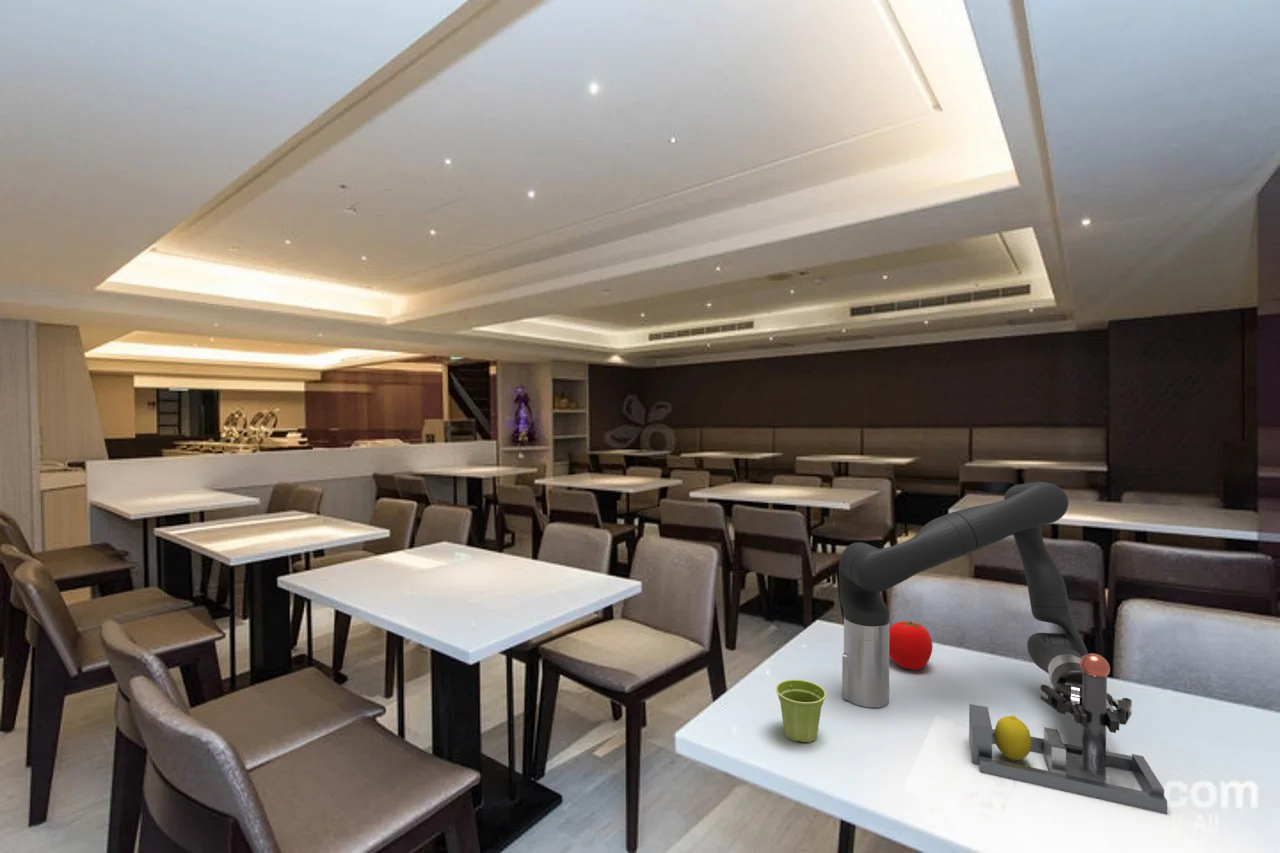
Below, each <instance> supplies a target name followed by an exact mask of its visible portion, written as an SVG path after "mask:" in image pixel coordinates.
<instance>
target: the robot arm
mask: <svg viewBox="0 0 1280 853" xmlns="http://www.w3.org/2000/svg"><path fill="white" fill-rule="evenodd" d="M1004 494H1005V495H1004V498H1003V500H999V501H996V502H992V503H987V504H981V505H976V506H972V507H971V506H970V507H967V508H962V509H959V510H955V511H952V512H949V513H946V514H945V515H941V516H939V517H936V518H934V519H932V520H931V521H929V522H927V523H926V524H924V526H922V528H920V529H919V531H918V532H917V533H916V534H915V535H913V537H911V538H909V539H907V540H906V541H903V542H901V543H898V544H894V545H891V546H887V547H883V548H878V547H875V546H873V545H870V544H869V543H865V542H852V543H850V544H849V545H848V546H846V547H845V548H844V550H843V551H842V553H841V556H840V557H839V564H838V565H839V566H838V575H839V576H838V578H839V582H838V583H839V599H840V603H841V606H842V608H843V654H842V657H841V658H842V659H841V661H842V662H841V663H842V664H841V666H842V667H841V672H842V673H841V675H842V677H841V680H842V682H841V683H842V684H841V685H842V686H841V690H842V691H841V693H842V694H841V695H842V696H841V697H842V698H841V699H842V700H844V701H845V700H846V701H848V702H850V703H852V704H854V705H856V706H860V707H865V708H872V709H873V708H875V709H876V708H883V707H886V706H887V705H889V703H890V656H889V628H890V610H889V607H888V606H887V604H886V603H885V601H884V599H883V597H882V594H881V592H884V591H887V590H889V589H891V588H893V587H895V586H898V585H899V584H901V583H902V582H904V581H906V580H909V579H910V578H912V577H914V576H916V575H918V574H920V573H921V572H924V571H927V570H930V569H933V568H935V567H937V566H941V565H942V564H945V563H947V562H950V561H953V560H957V559H959V558H961V557H964V556H966V555H969V554H970V555H971V554H972V553H975V552H977V551H979V550H981V549H983V548H986V547H988V546H990V545H993V544H996V543H997V542H999V541H1002V540H1003V539H1005V538H1008V537H1009V536H1012V535H1013V538H1014V541H1015V545H1016V547H1017V550H1018V554H1019V556H1020V559H1021V563H1022V567H1023V570H1024V575H1025V579H1026V585H1027V591H1028V596H1029V602H1030V603H1029V604H1030V608H1031V610H1030V611H1031V614H1032V616H1033V618H1034V619H1035V620H1037V621H1039V622H1044V623H1050V624H1053V625H1057V626H1058V627H1060V629H1061V630H1062V632H1035V633H1033V634H1031V635H1030V636H1029V638H1028V640H1027V642H1026V643H1027V644H1026V647H1027V652H1028V654H1029V657H1030V658H1031V660H1032V662H1033V663H1034V664H1035V665H1036V667H1038V668H1039V669H1041V670H1042V671H1043V672H1045V673H1046V674H1048V678H1049V681H1050V684H1051V685H1052V687H1050V686H1049V685H1046V684H1040V699H1041V701H1043V702H1044V703H1046V704H1047V705H1048V706H1050V708H1052V709H1053V710H1054V711H1056V712H1057V713H1058V714H1059V713H1060V714H1062V715H1066V714H1070V716H1071V717H1072V718H1073V721H1074V722H1075V723H1076V724H1079V725H1080V727H1081V728H1082V727H1086V728H1087V715H1086V713H1085V711H1084V709H1083V671H1082V669H1081V667H1080V660H1081V658H1082V657H1083V656H1084V655H1086V654H1089V652H1088V649H1087V647H1086V644H1085V642H1084V641H1083V639H1082V637H1081V635H1080V633H1079V631H1078V629H1077V627H1076V624H1075V622H1074V620H1073V617H1072V613H1071V609H1070V608H1071V607H1070V602H1069V596H1068V592H1067V591H1068V590H1067V587H1066V583H1065V580H1064V577H1063V575H1062V573H1061V571H1060V569H1059V567H1058V566H1057V564H1056V563H1055V561H1054V559H1053V558H1052V557H1051V555H1050V552H1049V551H1048V549H1047V547H1046V545H1045V542H1044V539H1043V535H1042V527H1041V526H1044V525H1049V524H1054V523H1056V522H1057V521H1059V520H1061V519H1062V518H1063V516H1064V515H1065V514H1066V513H1067V511H1068V508H1069V498H1068V495H1067V494H1066V492H1065V491H1064V490H1063V489H1062V488H1061V487H1059V485H1056V484H1053V483H1049V482H1045V481H1036V482H1028V483H1022V484H1021V483H1020V484H1016V485H1013V486H1011V487H1010V488H1008V489H1007V490H1006V492H1005V493H1004ZM1132 706H1133V704H1132V699H1130V698H1128V697H1123V698H1122V699H1120V698H1119V699H1116V698H1115V699H1114V698H1113V696H1112V695H1111V694H1109V693H1108V692H1107V706H1106V729H1108V731H1109V732H1110V733H1113V734H1114V733H1115V734H1116V733H1117V731H1120V725H1122V726H1123V725H1125V726H1126V725H1127V723H1128V721H1129V719H1130V718H1131V716H1132V711H1133V710H1132V708H1133V707H1132Z"/></svg>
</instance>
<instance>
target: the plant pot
mask: <svg viewBox="0 0 1280 853" xmlns="http://www.w3.org/2000/svg"><path fill="white" fill-rule="evenodd" d="M775 692H776V694H777V696H778V700H779V701H780V702H779V703H780V708H781V709H780V710H781V716H782V718H781V719H782V726H783V732H784V733H783V734H784V735H785V737H787V738H788V737H789V738H790V739H789V738H788V739H789V740H791V739H793V740H794V741H793V740H792V741H793V742H802V743H803V742H809V743H812V741H813V742H814V741H815V739H816V740H817V738H818V732H819V726H820V719H821V710H822V707H823V705H824V701H825V699H826V698H827V691H826V690H825V689H824V687H822V686H821V685H819V684H817V683H815V682H812V681H809V680H803V679H786V680H782V681H781V682H779V683H777V684H776V686H775Z"/></svg>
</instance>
